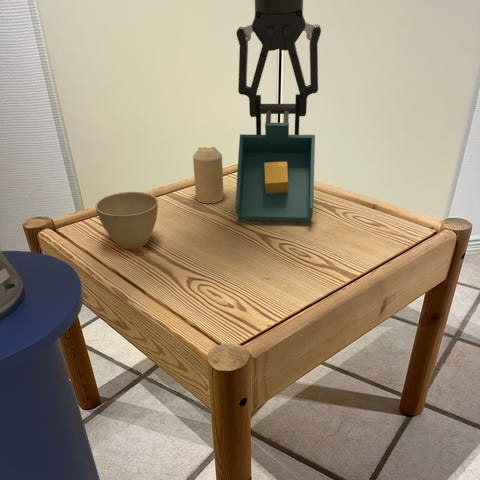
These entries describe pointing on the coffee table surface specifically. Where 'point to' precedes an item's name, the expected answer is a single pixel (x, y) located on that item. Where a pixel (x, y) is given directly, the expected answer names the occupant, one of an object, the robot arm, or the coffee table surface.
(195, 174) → the candle
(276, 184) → the block
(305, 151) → the dustpan
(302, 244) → the coffee table surface
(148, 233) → the beige bowl
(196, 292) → the coffee table surface
